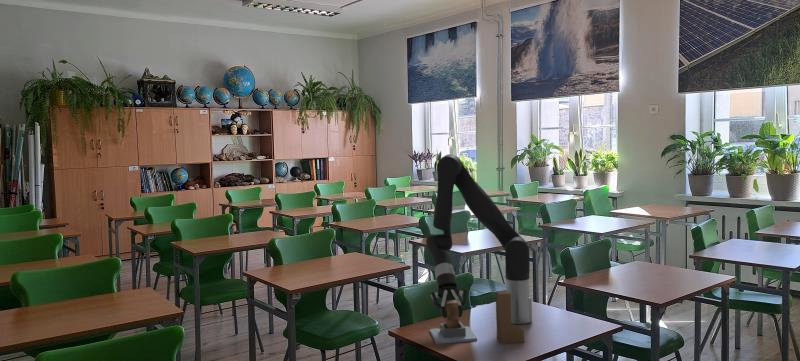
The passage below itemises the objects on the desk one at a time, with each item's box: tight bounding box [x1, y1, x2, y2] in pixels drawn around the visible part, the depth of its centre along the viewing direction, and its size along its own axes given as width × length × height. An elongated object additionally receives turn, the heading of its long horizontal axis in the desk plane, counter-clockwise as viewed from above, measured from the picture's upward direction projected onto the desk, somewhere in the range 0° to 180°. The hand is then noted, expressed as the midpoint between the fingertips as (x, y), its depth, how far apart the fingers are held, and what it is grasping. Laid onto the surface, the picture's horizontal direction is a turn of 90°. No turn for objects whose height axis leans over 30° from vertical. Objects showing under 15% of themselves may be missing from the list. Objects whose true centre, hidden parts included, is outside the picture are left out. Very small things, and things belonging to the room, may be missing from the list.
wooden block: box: [495, 290, 525, 345], centre depth 211 cm, size 9×4×18 cm, turn 97°
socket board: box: [429, 321, 478, 345], centre depth 220 cm, size 15×14×4 cm
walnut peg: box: [444, 300, 459, 329], centre depth 219 cm, size 4×4×12 cm
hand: (452, 316), depth 218 cm, fingers open, 5 cm apart
